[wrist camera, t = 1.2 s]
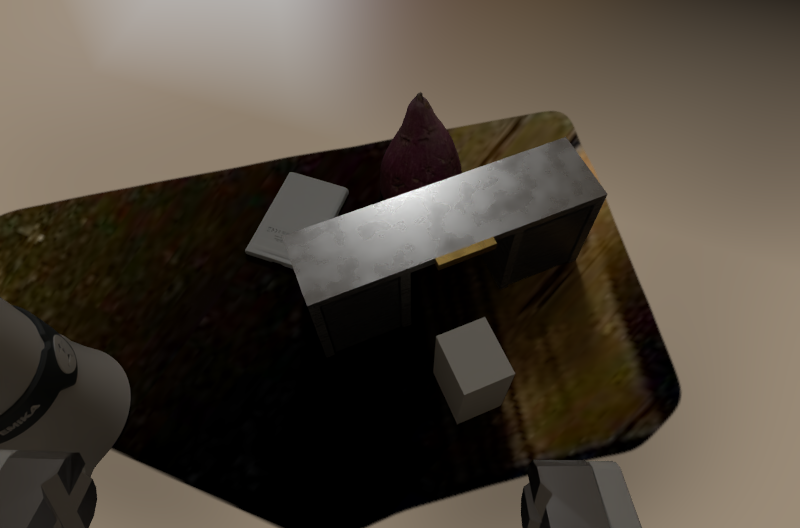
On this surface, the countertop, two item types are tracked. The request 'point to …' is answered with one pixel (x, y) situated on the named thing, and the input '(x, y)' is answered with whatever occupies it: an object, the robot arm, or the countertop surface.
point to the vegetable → (418, 152)
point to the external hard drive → (295, 214)
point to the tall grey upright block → (471, 369)
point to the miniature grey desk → (443, 239)
